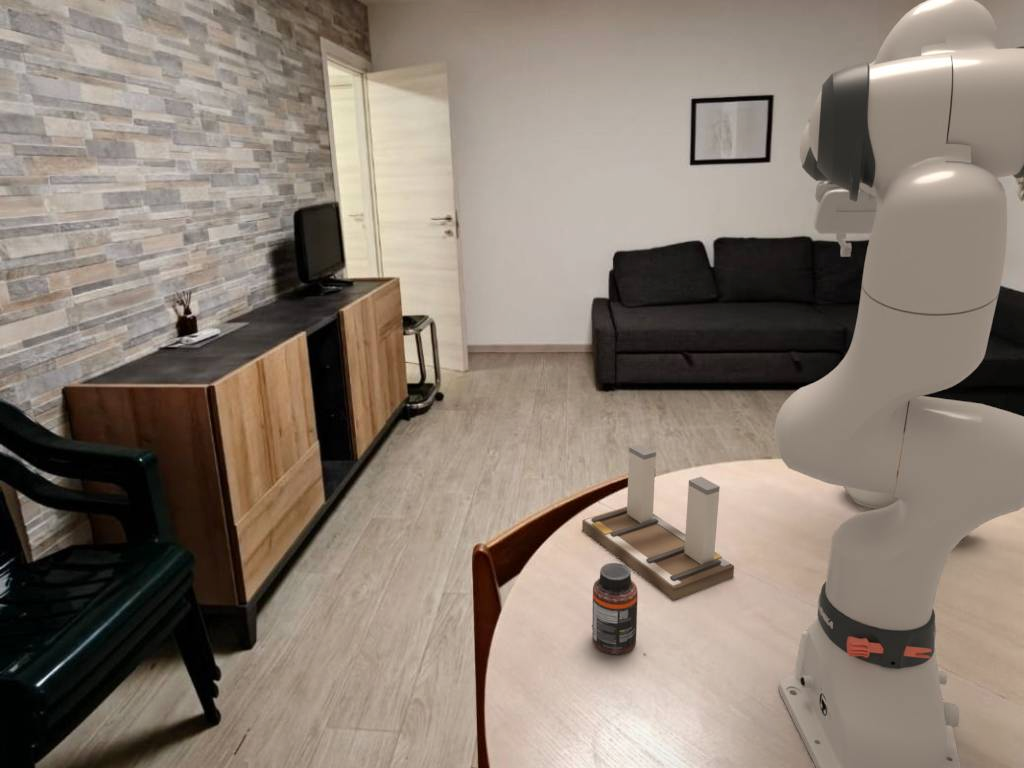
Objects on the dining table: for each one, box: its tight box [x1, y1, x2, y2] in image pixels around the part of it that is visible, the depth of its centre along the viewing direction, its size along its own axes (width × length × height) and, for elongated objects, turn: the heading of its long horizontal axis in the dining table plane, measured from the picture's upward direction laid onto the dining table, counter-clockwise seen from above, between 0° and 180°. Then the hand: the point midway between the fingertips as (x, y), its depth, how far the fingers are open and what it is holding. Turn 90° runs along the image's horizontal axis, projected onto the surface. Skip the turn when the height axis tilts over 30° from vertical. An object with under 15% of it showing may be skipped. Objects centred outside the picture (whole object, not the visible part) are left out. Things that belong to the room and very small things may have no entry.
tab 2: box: [684, 476, 720, 565], centre depth 113 cm, size 4×2×13 cm, turn 29°
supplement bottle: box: [591, 562, 639, 655], centre depth 98 cm, size 6×6×11 cm
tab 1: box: [626, 443, 657, 523], centre depth 126 cm, size 4×2×13 cm, turn 29°
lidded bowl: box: [842, 449, 902, 510], centre depth 135 cm, size 13×13×11 cm
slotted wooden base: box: [581, 506, 735, 601], centre depth 120 cm, size 24×12×3 cm, turn 29°
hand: (876, 255), depth 120 cm, fingers open, 8 cm apart
